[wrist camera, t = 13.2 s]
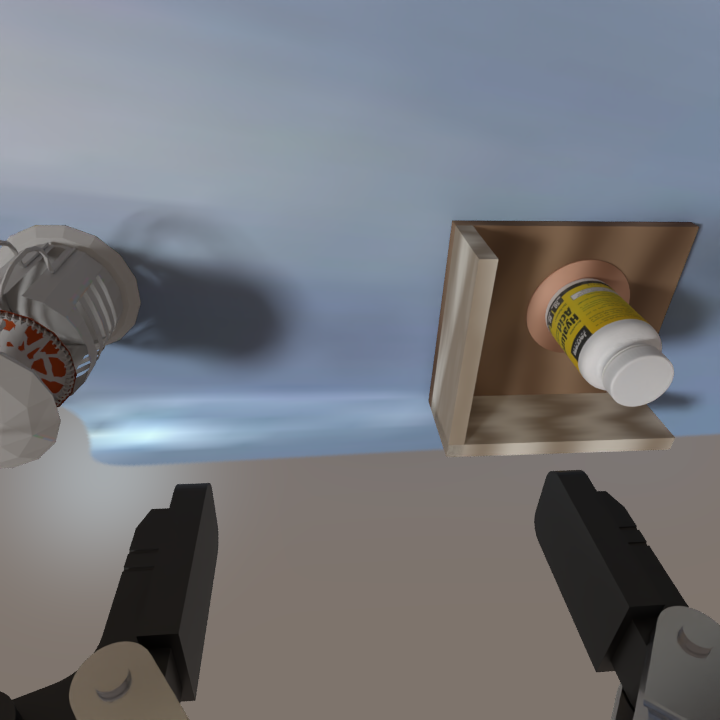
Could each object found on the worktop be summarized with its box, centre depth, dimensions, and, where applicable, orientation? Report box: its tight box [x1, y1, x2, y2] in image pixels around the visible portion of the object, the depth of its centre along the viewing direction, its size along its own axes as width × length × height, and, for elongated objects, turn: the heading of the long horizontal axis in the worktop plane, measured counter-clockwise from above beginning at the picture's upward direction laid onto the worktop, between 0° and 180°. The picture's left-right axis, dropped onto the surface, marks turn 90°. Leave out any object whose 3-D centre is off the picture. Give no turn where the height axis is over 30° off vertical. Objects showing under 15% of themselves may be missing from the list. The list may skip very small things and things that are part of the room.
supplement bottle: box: [545, 278, 674, 407], centre depth 38 cm, size 5×5×10 cm
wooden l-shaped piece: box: [429, 221, 699, 457], centre depth 41 cm, size 18×16×7 cm
